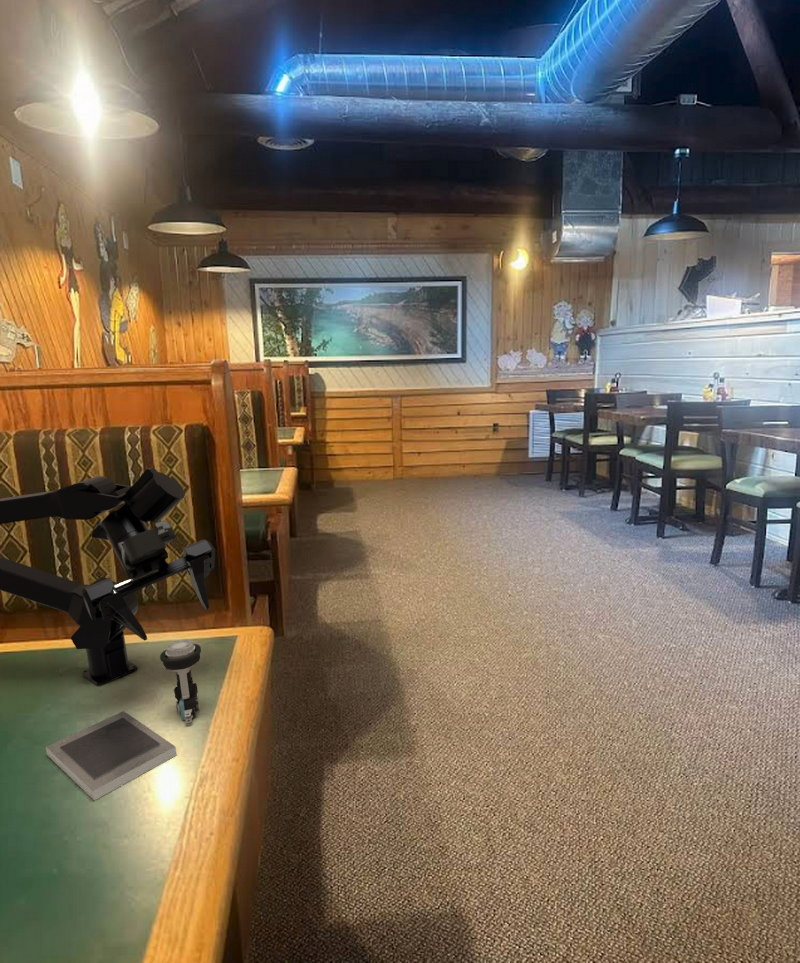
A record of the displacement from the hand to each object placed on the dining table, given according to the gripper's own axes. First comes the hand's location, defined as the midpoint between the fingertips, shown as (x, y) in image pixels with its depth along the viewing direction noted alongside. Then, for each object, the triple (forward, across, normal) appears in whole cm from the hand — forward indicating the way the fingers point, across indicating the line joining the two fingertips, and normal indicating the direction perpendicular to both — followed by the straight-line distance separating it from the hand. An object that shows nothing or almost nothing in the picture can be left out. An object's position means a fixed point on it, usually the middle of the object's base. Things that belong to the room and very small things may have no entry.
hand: (177, 623), depth 86 cm
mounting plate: (+12, -14, +2) cm, 18 cm away
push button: (+11, -4, +5) cm, 13 cm away
